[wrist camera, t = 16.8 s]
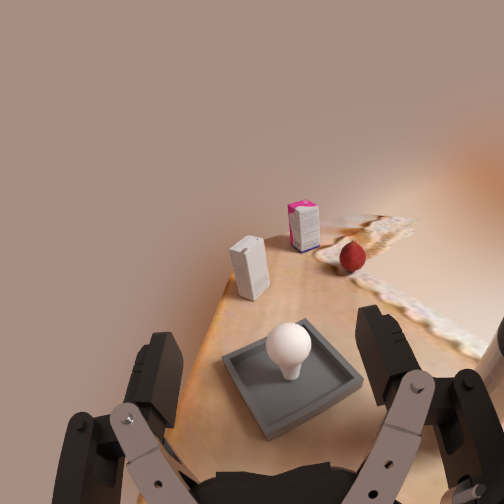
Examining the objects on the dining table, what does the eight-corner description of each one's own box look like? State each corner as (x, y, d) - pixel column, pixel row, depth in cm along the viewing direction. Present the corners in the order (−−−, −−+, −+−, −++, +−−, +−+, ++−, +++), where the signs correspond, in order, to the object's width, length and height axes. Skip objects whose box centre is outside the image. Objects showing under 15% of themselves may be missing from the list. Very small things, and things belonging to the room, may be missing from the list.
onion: (342, 280, 60) (343, 248, 56) (336, 265, 65) (337, 235, 61) (367, 276, 60) (370, 245, 56) (360, 262, 65) (361, 232, 61)
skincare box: (255, 280, 65) (246, 233, 59) (271, 286, 63) (264, 237, 56) (238, 296, 61) (226, 248, 55) (255, 303, 59) (245, 253, 53)
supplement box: (321, 246, 73) (319, 205, 67) (301, 254, 72) (298, 211, 66) (308, 237, 78) (306, 198, 72) (290, 244, 76) (286, 204, 71)
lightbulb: (277, 397, 39) (270, 353, 33) (267, 367, 44) (258, 320, 38) (316, 385, 39) (318, 338, 34) (303, 357, 45) (301, 308, 39)
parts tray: (305, 327, 51) (305, 318, 49) (361, 387, 38) (363, 378, 37) (224, 365, 46) (221, 356, 45) (268, 441, 33) (266, 435, 32)
